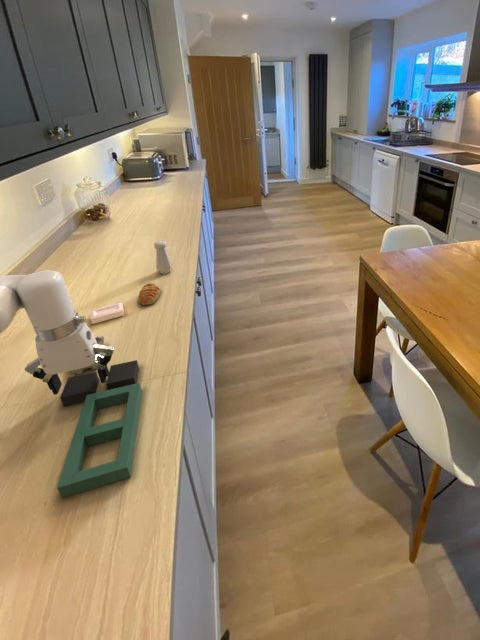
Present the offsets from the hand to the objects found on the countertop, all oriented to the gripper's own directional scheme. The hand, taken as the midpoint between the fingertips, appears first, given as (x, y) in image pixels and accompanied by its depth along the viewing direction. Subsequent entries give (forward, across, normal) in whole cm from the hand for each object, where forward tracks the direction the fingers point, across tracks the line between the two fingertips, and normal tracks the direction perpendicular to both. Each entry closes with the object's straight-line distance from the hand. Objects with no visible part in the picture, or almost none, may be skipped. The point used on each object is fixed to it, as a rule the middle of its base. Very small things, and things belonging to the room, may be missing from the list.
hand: (81, 383), depth 76 cm
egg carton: (+3, +2, -12) cm, 12 cm away
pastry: (+3, -11, -38) cm, 40 cm away
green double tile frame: (+3, -7, +14) cm, 16 cm away
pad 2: (+3, -8, -1) cm, 9 cm away
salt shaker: (+3, -15, -56) cm, 58 cm away
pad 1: (+3, +1, 0) cm, 3 cm away
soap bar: (+3, +1, -31) cm, 31 cm away
